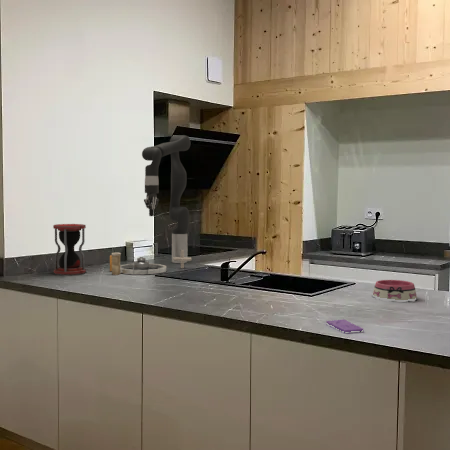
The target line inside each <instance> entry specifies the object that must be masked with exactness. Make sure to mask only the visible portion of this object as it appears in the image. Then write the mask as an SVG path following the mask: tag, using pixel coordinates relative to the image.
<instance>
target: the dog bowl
mask: <svg viewBox="0 0 450 450" xmlns="http://www.w3.org/2000/svg"><path fill="white" fill-rule="evenodd" d="M372 294H373V295H374V296H377V297H380V298H387V299H395V300H408V299H415V298H417V299H418V296H417V291H416V286H415V284H414V283H413V282H412V281H408V280H399V279H381V280H377V281H376V282H375V285H374V289H373V291H372Z"/></svg>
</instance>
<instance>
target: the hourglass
mask: <svg viewBox="0 0 450 450" xmlns="http://www.w3.org/2000/svg"><path fill="white" fill-rule="evenodd" d="M52 226H53V227H52V228H53V229H54V242H55V245H56V247H57V251H56V253H55V255H54V269H53V274H54V273H55V274H54V275H59V274H61V276H73V275H74V276H77V275H83V274H86V271H87V270H86V268H85V266H86V265H85V262H86V261H85V254H84V252H83V249H82V248H83V246H84V245H85V240H86V239H85V229H86V228H87V227H86V224H82V223H60V224H57V223H56V224H53V225H52ZM81 231H82V232H81ZM81 237H82V238H81ZM58 239H59V241H60V242H61V244H62V245H63V246H64V252H63V253H62V254H61V255H60V257H59V259H58V256H59V254H60V252H61V245H60V244H59V242H58ZM80 239H81V243H80V245H79V246H78V247H79V248H78V251H79V253H80V254H81V257H82V259H81V258H80V256H79V255H78V254H77V252H76V251H75V246H76V245H77V244H78V242H79V241H80ZM58 260H59V261H58ZM81 261H82V264H81ZM58 265H59V267H58ZM81 265H82V266H81Z"/></svg>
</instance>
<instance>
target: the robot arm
mask: <svg viewBox="0 0 450 450" xmlns="http://www.w3.org/2000/svg"><path fill="white" fill-rule="evenodd" d="M191 143H192V142H191V139H190V137H189V136H188V135H185V134H183V135H180V134H179V135H177V134H176V135H172V136H171V137H170V139H169V141H168V142H162V143H160V144H157V145H153V146H147V147H145V148H144V149H143V150H142V152H141V156H142V158H143V159H144V160H145V161H150V162H151V163H150V164H147V165H145V168H144V172H145V173H144V175H145V176H144V194H146V198H144V199H143V202H144V205H145V207H146V209H148V212H149V213H148V216H149V217H154V216H155V209H157V207H158V205H159V202H160V199H159V198H158V197H157V196H158V195H157V194H159V191H160V190H159V188H160V187H159V185H160V183H159V179H160V178H159V166H160V163H161V160H162V158H163V157H165V156H169V155H170V162H171V163H170V164H171V166H170V167H171V168H170V169H171V170H170V171H171V172H170V202H169V209H168V211H169V213H168V215H169V219H170V221H172V222H174V223H177V225H176V227H173V228H172V229H171V263H173V264H181V262H180V261H174V260H173V257H181V250H184V257H188V248H189V247H188V231H189V228H190V210H189V209H188V208H187V207H185V206H181V204H180V203H181V197H182V195H183V193H184V191H185V189H186V187H187V182H188V181H187V175H188V174H187V171H186V169H185V167H184V165H183V163H182V162H181V159H180V152H186V151H188V150H189V149H190V147H191V145H192V144H191ZM185 263H188V261H184V264H185Z"/></svg>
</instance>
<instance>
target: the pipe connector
mask: <svg viewBox="0 0 450 450" xmlns="http://www.w3.org/2000/svg"><path fill="white" fill-rule="evenodd" d="M173 260H174V261H180V262H181V263H180V269H184V268H185V263H184V261H187V262H191V261H192V257H189V256H187V257H184V250H181V257H173Z"/></svg>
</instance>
